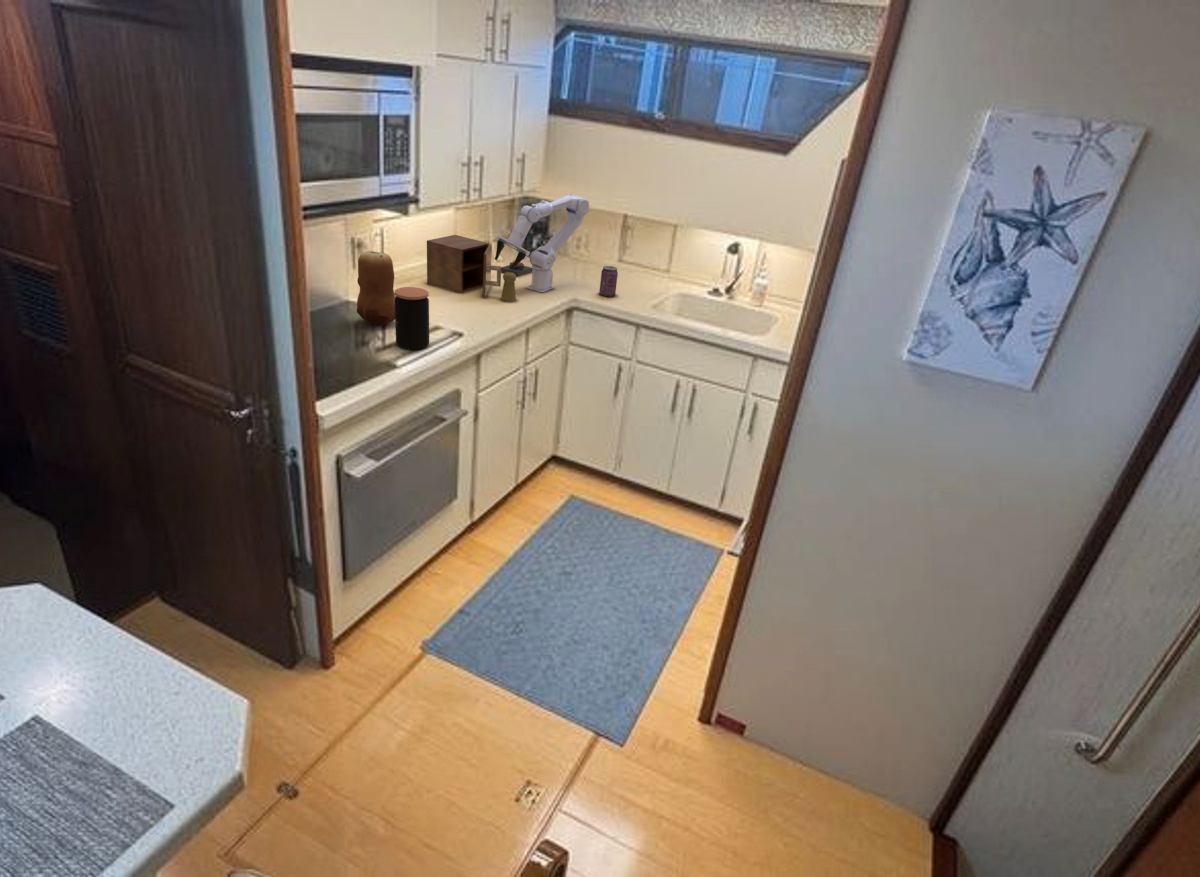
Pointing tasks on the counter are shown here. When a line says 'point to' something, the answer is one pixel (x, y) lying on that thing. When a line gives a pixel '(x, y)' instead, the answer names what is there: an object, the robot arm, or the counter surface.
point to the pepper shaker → (509, 287)
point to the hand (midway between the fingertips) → (503, 264)
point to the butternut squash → (376, 288)
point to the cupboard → (455, 263)
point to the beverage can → (608, 281)
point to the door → (487, 272)
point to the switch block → (517, 269)
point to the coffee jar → (412, 318)
